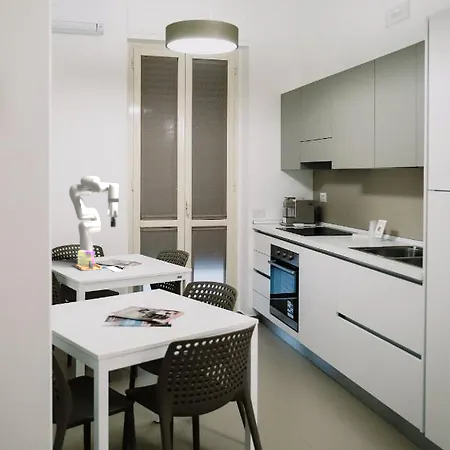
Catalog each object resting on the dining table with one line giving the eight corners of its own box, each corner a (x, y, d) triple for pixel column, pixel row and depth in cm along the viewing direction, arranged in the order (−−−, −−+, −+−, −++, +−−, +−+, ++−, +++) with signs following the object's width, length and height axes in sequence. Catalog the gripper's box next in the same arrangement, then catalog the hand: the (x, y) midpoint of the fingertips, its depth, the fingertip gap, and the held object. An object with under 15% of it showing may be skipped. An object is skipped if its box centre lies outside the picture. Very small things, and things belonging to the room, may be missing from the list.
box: (94, 266, 423) (94, 250, 422) (91, 267, 418) (91, 251, 417) (80, 266, 425) (80, 249, 424) (77, 267, 419) (77, 250, 418)
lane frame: (74, 266, 424) (74, 258, 423) (93, 265, 430) (93, 256, 430) (81, 270, 406) (81, 261, 406) (101, 269, 413) (101, 260, 412)
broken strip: (105, 267, 421) (105, 266, 421) (114, 267, 424) (114, 266, 424) (114, 271, 403) (114, 271, 403) (122, 271, 406) (122, 270, 406)
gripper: (105, 200, 418) (105, 225, 420) (110, 201, 404) (110, 228, 406) (115, 200, 421) (115, 225, 423) (121, 201, 408) (121, 227, 410)
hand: (113, 226), depth 415 cm, fingers closed
